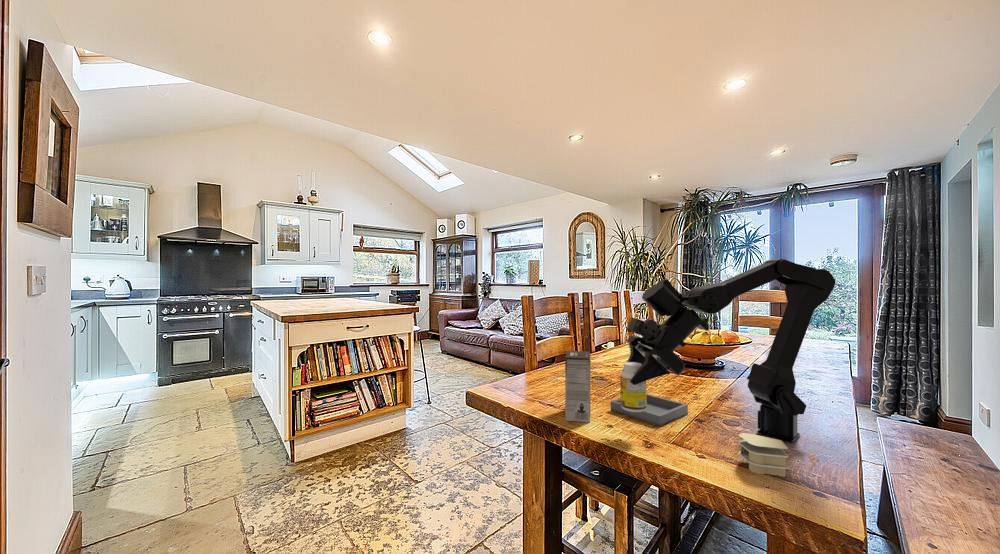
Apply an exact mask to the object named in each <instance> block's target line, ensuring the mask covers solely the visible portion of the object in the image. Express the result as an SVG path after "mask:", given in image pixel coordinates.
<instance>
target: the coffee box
mask: <svg viewBox="0 0 1000 554" xmlns="http://www.w3.org/2000/svg"><path fill="white" fill-rule="evenodd" d="M564 359H565V361H564V362H565V363H564V364H565V366H564V374H565V376H564V378H565V379H564V381H565V382H564V383H565V384H564V387H565V388H564V390H565V391H564V392H565V393H564V394H565V396H564V399H565V400H564V401H565V403H564V405H565V407H564V409H565V411H564V412H565V413H564V414H565V416H564V418H565V421H566V422H579V423H580V422H581V423H591V391H592V390H591V379H592V378H591V376H592V375H591V367H592V365H591V352H590V351H587V350H586V351H583V350H582V351H581V350H566V351H565V358H564Z"/></svg>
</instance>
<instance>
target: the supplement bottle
mask: <svg viewBox="0 0 1000 554" xmlns="http://www.w3.org/2000/svg"><path fill="white" fill-rule="evenodd" d="M641 366H642V364H641V363H637V362H627V361H625V362H624V363H623V369H624V370H623V369H622V371H620V374H619V376H620V377H619V381H620V382H619V384H620V385H619V386H620V396H619V397H620V398H621V407H622V408H623V409H624V410H626V411H630V412H643V411H645V410H646V394H647V381H644V382H641V383H638V384H636V385H633V384H632V383H631V382H630V381H631V379H632V378H633V376H634V375H635V373H636V372H637V371H638V370H639V368H640V367H641Z"/></svg>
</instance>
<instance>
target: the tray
mask: <svg viewBox="0 0 1000 554" xmlns="http://www.w3.org/2000/svg"><path fill="white" fill-rule="evenodd" d="M688 410H689V404H687V403H683V402H678V401H676V400H671V399H668V398H663V397H659V396H658V395H657V396H656V395H652V394H648V393H646V410H645V411H643V412H630V411H626V410H624V409H623V408H622V407H621V398H619V397H618V398H616V399H614V400H611V401H610V411H611V412H614V413H616V414H620V415H623V416H626V417H629V418H632V419H635V420H638V421H641V422H644V423H647V424H651V425H654V426H656V427H659V428H660V427H663V426H665V425H667V424H669V423H672V422H673V421H676V420H678V419H681V418H683V417H684V415H685V416H687V415H688V414H689V411H688ZM680 417H681V418H680Z"/></svg>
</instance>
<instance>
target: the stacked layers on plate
mask: <svg viewBox="0 0 1000 554" xmlns="http://www.w3.org/2000/svg"><path fill="white" fill-rule="evenodd" d="M738 436H739V437H740V438H742V439H740V440H738V444H739V445H740V450H739V451H738V455H739V456H740V457H742V458H743V459H744V460H745V461H746V462H748V470H749V471H750V472H752V473H755V474H758V475H765V474H766V475H772V476H777V475H778V477H782V478H783V477H784V478H786V477H787V476H786V470H789V469H790V468H789V466H788V465H787V464H786V459H789V455H788V453H787V452H786V450H789V447H788V446H787V445H786V444H785V443H784V441H783V440H779V439H776V438H772V437H769V436H764V435H760V434H759V435H757V434H753V433H747V432H742V433H739V434H738Z"/></svg>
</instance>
